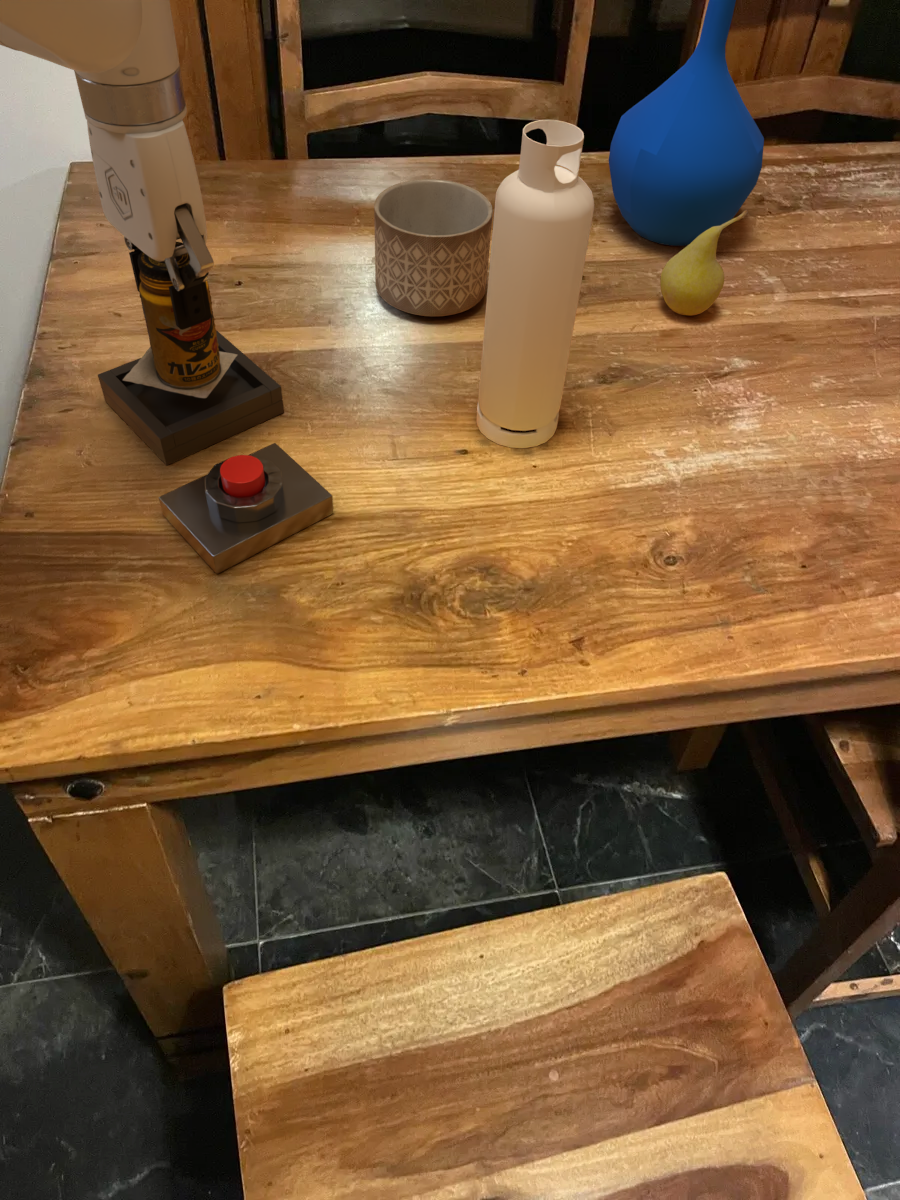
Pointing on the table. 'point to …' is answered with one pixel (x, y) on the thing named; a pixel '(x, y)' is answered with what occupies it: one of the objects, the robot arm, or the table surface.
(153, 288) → the condiment
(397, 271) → the planter
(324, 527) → the table surface
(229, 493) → the button
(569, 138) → the bottle
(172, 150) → the robot arm
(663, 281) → the fruit
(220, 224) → the table surface
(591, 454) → the table surface
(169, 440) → the tray
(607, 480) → the table surface
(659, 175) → the vase
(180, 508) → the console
